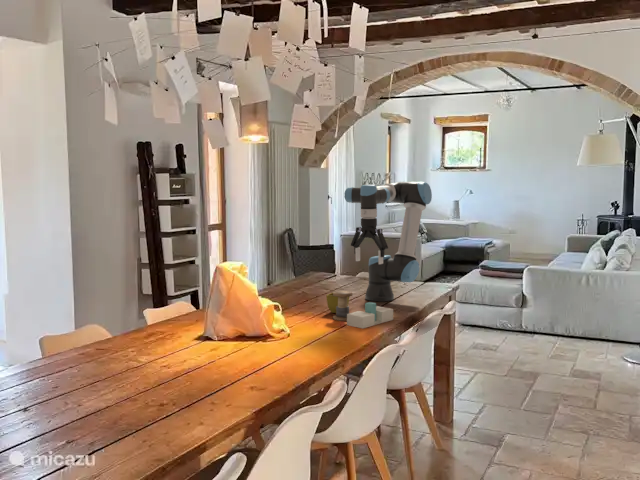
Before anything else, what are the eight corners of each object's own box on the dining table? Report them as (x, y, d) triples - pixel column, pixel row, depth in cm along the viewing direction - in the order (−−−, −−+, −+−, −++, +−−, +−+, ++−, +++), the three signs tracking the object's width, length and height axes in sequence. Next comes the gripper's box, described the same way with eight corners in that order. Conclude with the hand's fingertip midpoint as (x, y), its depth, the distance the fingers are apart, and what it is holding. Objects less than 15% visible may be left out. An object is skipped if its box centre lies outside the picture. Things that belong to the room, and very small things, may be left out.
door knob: (341, 315, 295) (341, 290, 294) (356, 318, 289) (356, 292, 288) (328, 318, 289) (328, 293, 287) (343, 321, 283) (343, 295, 281)
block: (369, 319, 284) (370, 301, 283) (375, 320, 282) (376, 303, 281) (365, 320, 282) (365, 303, 281) (371, 321, 279) (371, 304, 278)
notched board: (377, 316, 293) (377, 306, 292) (393, 319, 287) (393, 308, 286) (346, 325, 277) (346, 314, 276) (362, 328, 271) (362, 317, 270)
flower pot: (325, 313, 300) (325, 294, 299) (333, 309, 308) (333, 291, 307) (342, 315, 296) (342, 296, 295) (350, 311, 303) (350, 293, 302)
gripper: (343, 217, 298) (343, 260, 301) (385, 220, 282) (386, 266, 285) (353, 215, 304) (353, 258, 307) (395, 218, 287) (395, 264, 290)
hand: (369, 262), depth 296 cm, fingers open, 13 cm apart
